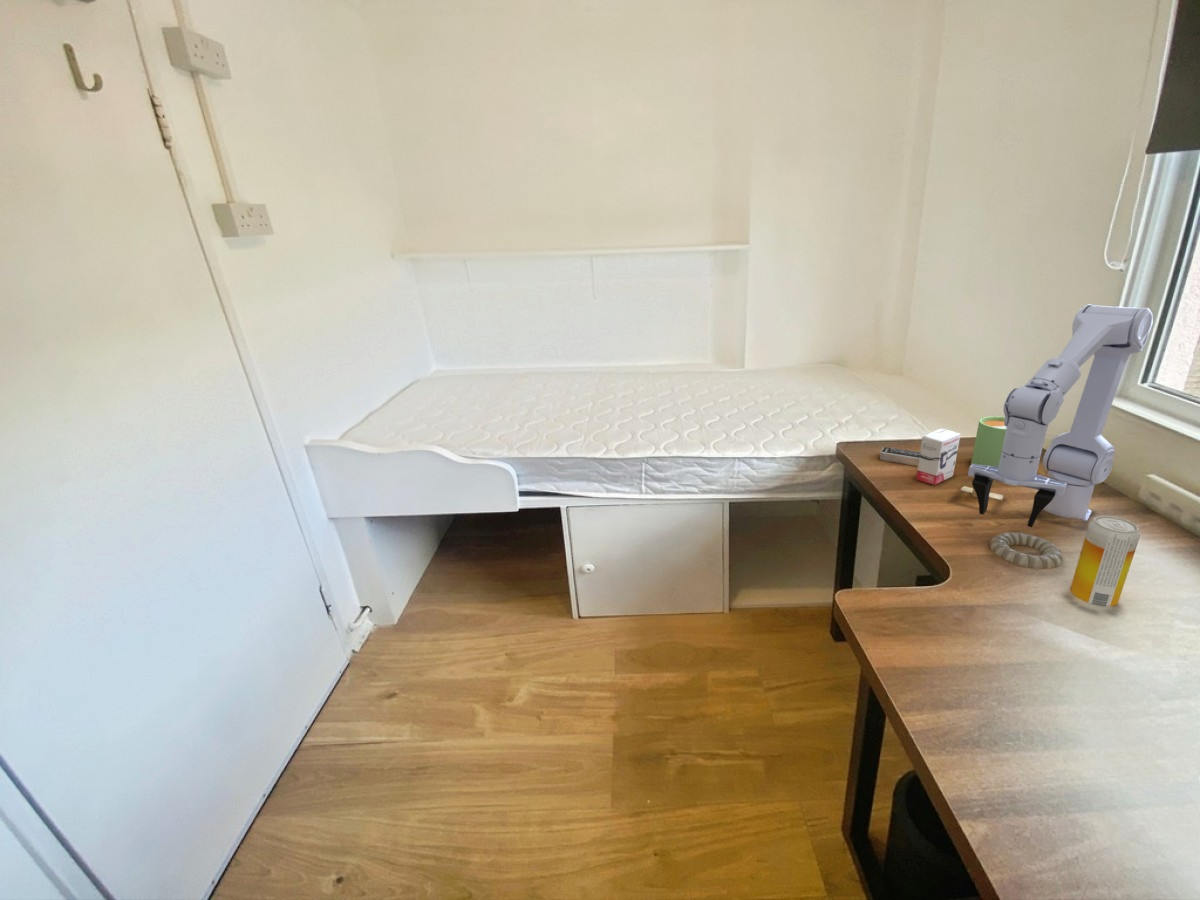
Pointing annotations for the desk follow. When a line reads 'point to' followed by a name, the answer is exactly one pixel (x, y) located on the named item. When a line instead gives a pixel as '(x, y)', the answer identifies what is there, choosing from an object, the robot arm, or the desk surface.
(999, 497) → the stand
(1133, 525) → the orange pill bottle
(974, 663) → the desk surface
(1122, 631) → the desk surface
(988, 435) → the mug
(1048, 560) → the ring
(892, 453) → the multiport hub
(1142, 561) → the desk surface
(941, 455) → the ink box
